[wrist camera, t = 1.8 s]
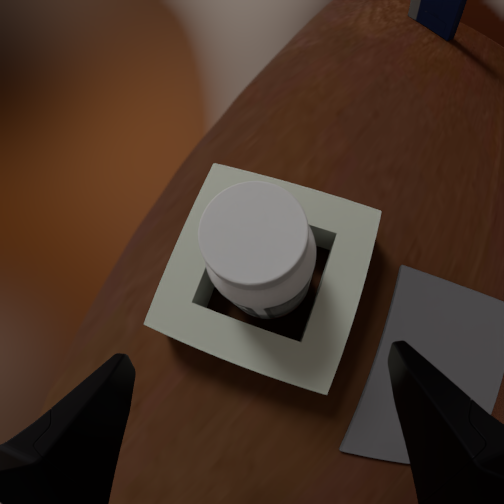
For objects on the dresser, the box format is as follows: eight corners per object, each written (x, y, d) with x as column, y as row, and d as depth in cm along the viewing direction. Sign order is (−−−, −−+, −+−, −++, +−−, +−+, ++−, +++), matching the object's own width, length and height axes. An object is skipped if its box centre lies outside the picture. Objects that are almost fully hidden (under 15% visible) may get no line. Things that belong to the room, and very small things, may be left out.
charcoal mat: (465, 467, 16) (468, 469, 15) (339, 448, 18) (340, 450, 18) (513, 307, 19) (516, 306, 18) (399, 266, 21) (402, 264, 21)
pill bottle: (306, 240, 23) (316, 166, 13) (311, 318, 21) (329, 295, 12) (229, 244, 23) (190, 176, 14) (229, 320, 22) (183, 300, 12)
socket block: (320, 387, 20) (326, 395, 16) (163, 328, 22) (143, 324, 19) (369, 230, 22) (381, 211, 19) (223, 186, 25) (213, 163, 22)
